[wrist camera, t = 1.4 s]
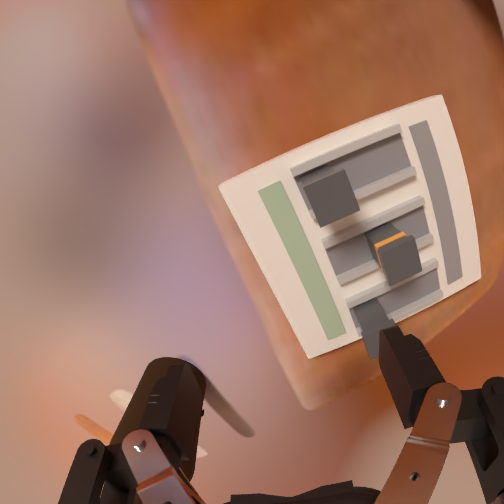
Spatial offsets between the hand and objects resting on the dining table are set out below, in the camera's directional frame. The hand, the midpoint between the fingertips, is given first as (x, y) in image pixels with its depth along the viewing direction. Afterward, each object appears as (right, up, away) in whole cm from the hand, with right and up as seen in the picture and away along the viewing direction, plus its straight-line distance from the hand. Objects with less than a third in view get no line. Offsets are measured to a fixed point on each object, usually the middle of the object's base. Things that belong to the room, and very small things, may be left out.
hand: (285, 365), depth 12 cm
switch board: (+12, +7, +21) cm, 25 cm away
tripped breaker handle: (+12, +6, +19) cm, 23 cm away
